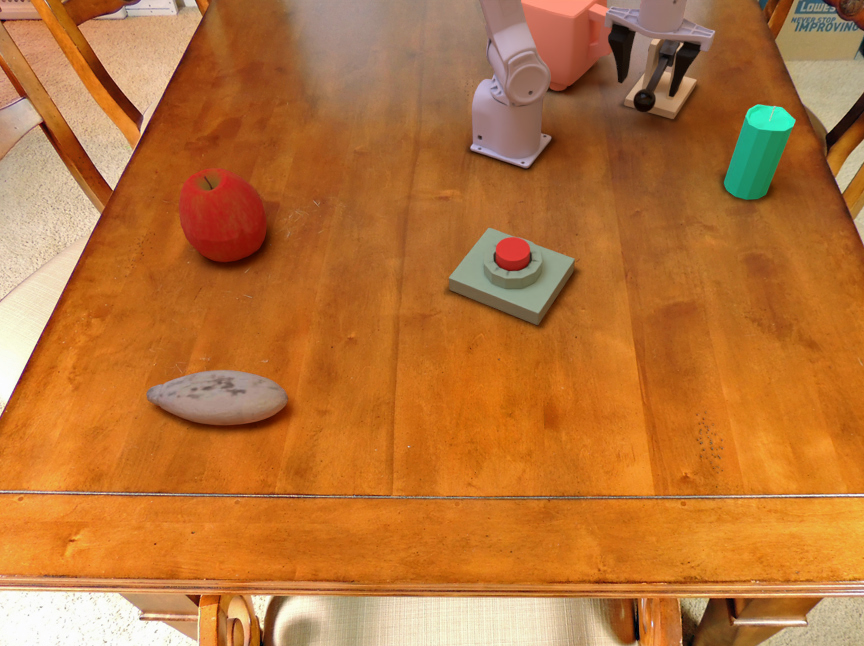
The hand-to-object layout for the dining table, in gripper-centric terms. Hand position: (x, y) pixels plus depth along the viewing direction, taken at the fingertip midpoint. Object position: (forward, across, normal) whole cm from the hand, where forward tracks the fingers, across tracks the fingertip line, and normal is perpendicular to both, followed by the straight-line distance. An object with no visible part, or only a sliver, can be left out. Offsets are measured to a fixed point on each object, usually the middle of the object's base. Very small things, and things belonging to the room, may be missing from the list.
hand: (647, 86), depth 97 cm
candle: (+6, -18, +7) cm, 20 cm away
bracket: (+6, 0, -8) cm, 10 cm away
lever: (+2, 0, -5) cm, 5 cm away
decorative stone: (+6, +21, +69) cm, 72 cm away
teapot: (+6, +19, -7) cm, 21 cm away
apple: (+6, +37, +49) cm, 61 cm away
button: (+3, +2, +38) cm, 38 cm away
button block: (+6, +2, +38) cm, 38 cm away
